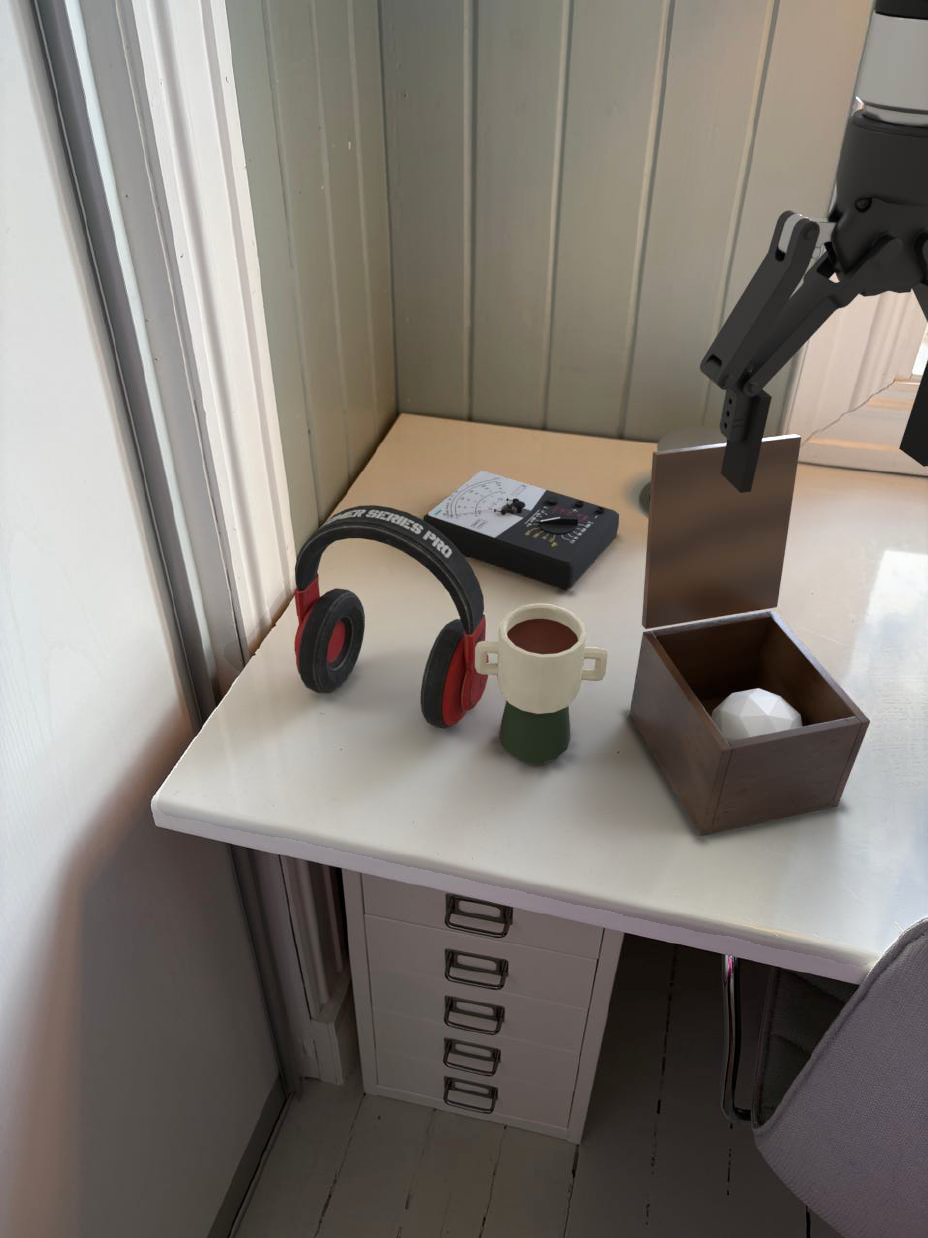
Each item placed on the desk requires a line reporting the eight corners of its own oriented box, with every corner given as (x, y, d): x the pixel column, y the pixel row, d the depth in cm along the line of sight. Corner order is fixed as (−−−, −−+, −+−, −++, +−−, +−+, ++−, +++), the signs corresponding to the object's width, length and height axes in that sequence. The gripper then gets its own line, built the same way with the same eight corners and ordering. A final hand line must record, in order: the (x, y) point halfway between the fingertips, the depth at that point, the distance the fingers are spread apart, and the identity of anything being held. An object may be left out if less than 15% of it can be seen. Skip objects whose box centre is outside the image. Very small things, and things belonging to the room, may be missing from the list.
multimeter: (569, 593, 101) (572, 555, 98) (421, 541, 108) (420, 504, 105) (618, 537, 110) (623, 501, 106) (478, 493, 117) (479, 458, 114)
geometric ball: (726, 771, 83) (731, 682, 83) (816, 786, 78) (822, 691, 78) (688, 780, 77) (693, 684, 77) (783, 797, 72) (789, 694, 72)
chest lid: (801, 436, 74) (795, 433, 75) (657, 454, 72) (652, 451, 72) (777, 607, 82) (772, 603, 82) (645, 629, 79) (641, 625, 80)
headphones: (498, 688, 88) (506, 507, 76) (459, 759, 81) (461, 571, 69) (335, 643, 94) (318, 467, 81) (284, 706, 86) (257, 522, 74)
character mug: (594, 719, 85) (609, 606, 77) (596, 776, 80) (613, 661, 72) (476, 711, 86) (478, 599, 78) (470, 768, 80) (472, 653, 72)
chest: (838, 806, 77) (871, 721, 71) (700, 836, 75) (722, 750, 69) (751, 691, 88) (773, 609, 82) (629, 714, 86) (642, 631, 80)
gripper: (1068, 90, 54) (950, 423, 67) (677, 109, 49) (632, 465, 62) (1177, 113, 49) (1025, 472, 62) (747, 137, 43) (680, 523, 56)
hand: (827, 469), depth 62 cm, fingers open, 13 cm apart
